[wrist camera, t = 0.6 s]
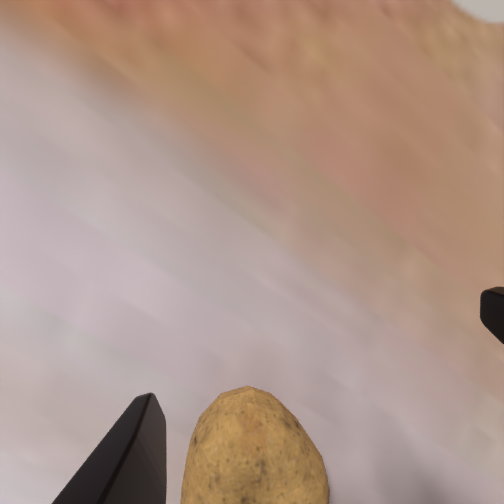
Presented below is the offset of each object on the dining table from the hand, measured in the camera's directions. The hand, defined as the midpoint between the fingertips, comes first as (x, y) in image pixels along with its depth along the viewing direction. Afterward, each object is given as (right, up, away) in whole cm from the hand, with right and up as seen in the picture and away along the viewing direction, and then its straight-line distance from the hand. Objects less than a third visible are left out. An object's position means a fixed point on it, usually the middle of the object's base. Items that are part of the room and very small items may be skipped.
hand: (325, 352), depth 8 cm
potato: (-2, -13, +16) cm, 21 cm away
